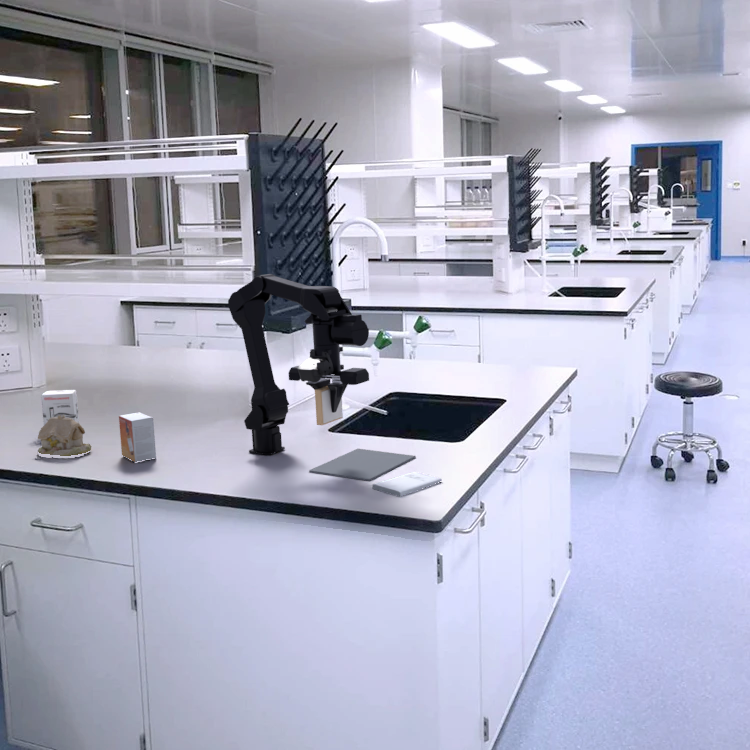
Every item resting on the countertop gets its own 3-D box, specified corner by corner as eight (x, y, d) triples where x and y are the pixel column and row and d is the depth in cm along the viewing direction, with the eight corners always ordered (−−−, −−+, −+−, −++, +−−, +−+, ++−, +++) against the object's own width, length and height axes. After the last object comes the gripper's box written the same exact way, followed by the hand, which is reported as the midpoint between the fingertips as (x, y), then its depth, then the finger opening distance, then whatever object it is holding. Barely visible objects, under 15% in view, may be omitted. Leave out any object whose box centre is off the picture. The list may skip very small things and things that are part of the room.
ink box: (44, 437, 242) (39, 394, 240) (48, 432, 247) (44, 390, 245) (76, 435, 243) (72, 392, 240) (80, 430, 247) (76, 389, 245)
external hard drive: (372, 491, 186) (414, 477, 195) (400, 499, 180) (442, 484, 189) (372, 483, 186) (413, 470, 194) (400, 491, 180) (441, 477, 188)
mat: (309, 472, 200) (309, 470, 200) (357, 450, 216) (357, 448, 216) (369, 481, 191) (369, 479, 191) (415, 457, 208) (415, 455, 208)
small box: (121, 457, 218) (117, 415, 216) (143, 453, 222) (139, 411, 220) (134, 464, 212) (130, 420, 210) (157, 459, 215) (153, 416, 213)
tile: (316, 424, 200) (314, 389, 199) (337, 417, 207) (335, 383, 205) (323, 425, 199) (321, 390, 198) (343, 418, 206) (341, 383, 205)
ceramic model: (27, 457, 222) (23, 417, 221) (59, 445, 232) (55, 408, 231) (71, 461, 217) (67, 421, 215) (102, 449, 227) (99, 411, 225)
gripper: (271, 347, 198) (275, 416, 201) (339, 350, 188) (343, 423, 191) (301, 340, 208) (305, 406, 210) (368, 343, 198) (372, 412, 200)
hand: (330, 411), depth 203 cm, fingers closed on tile, 2 cm apart
